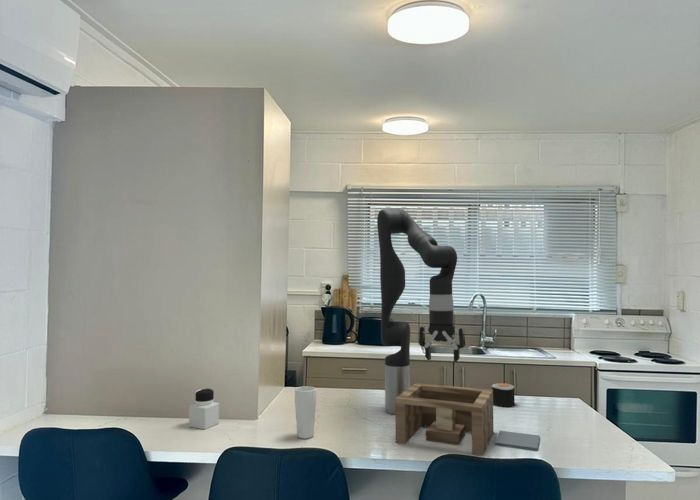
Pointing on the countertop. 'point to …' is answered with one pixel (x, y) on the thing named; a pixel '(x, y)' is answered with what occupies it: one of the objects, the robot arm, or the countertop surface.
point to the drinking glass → (305, 411)
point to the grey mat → (517, 440)
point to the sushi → (503, 395)
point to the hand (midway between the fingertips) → (442, 360)
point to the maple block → (445, 419)
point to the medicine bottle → (204, 410)
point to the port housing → (467, 402)
